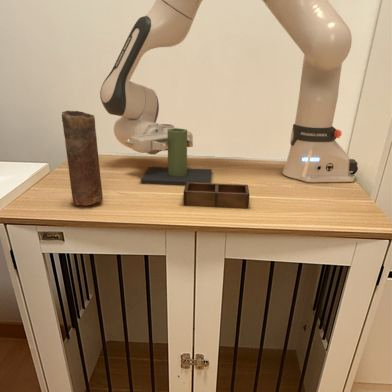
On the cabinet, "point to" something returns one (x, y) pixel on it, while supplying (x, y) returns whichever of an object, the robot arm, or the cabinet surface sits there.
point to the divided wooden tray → (216, 195)
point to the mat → (161, 177)
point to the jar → (177, 152)
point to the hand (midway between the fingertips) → (179, 145)
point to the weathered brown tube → (82, 157)
